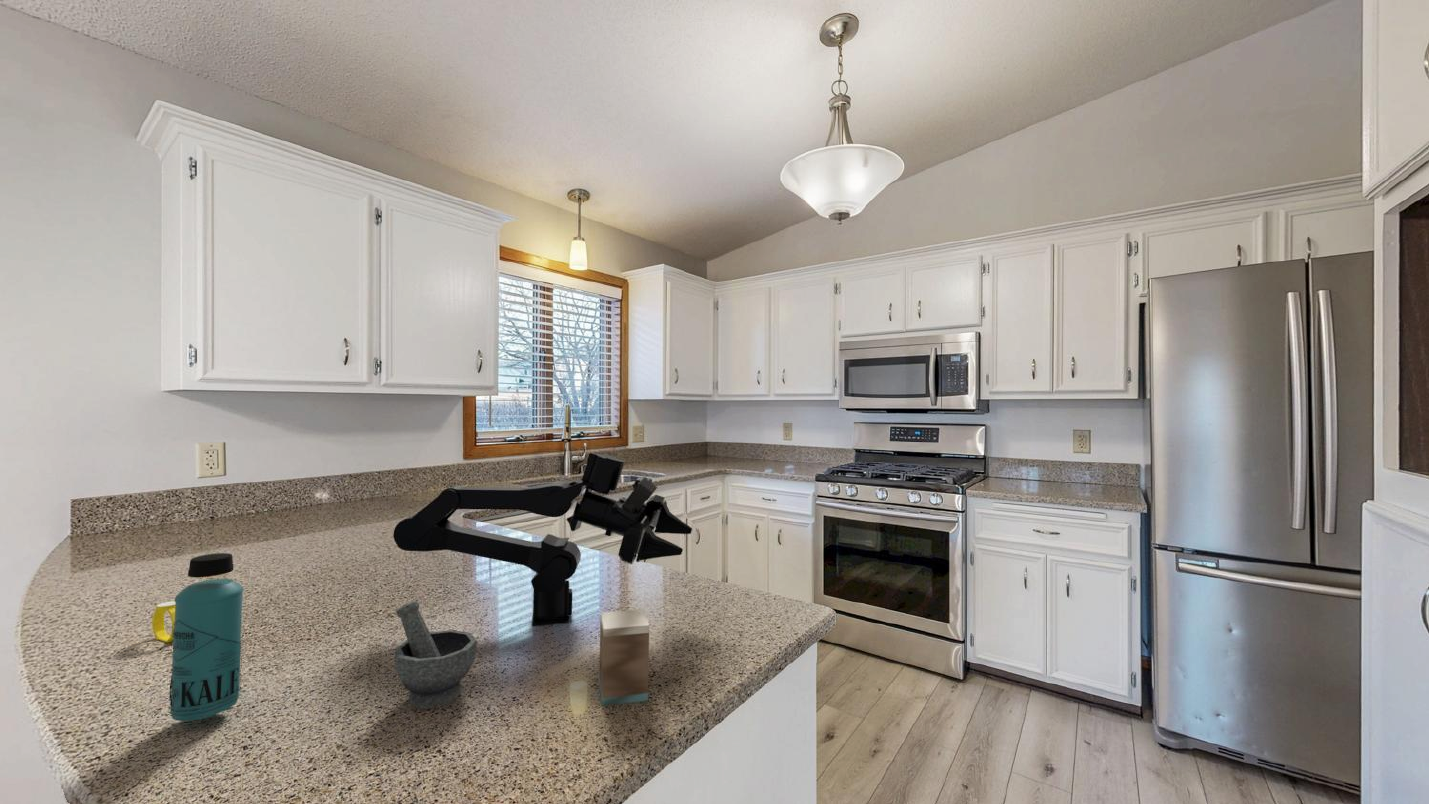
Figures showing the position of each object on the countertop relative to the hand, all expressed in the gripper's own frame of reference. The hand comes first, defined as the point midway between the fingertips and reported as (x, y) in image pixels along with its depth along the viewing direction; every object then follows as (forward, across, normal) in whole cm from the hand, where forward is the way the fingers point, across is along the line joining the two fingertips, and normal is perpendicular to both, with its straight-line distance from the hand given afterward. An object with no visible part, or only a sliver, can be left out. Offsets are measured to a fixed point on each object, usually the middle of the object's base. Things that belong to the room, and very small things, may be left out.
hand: (687, 541), depth 102 cm
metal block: (-1, -29, +10) cm, 31 cm away
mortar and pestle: (-25, -34, +17) cm, 45 cm away
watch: (-75, -25, +34) cm, 86 cm away
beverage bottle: (-47, -44, +22) cm, 68 cm away
